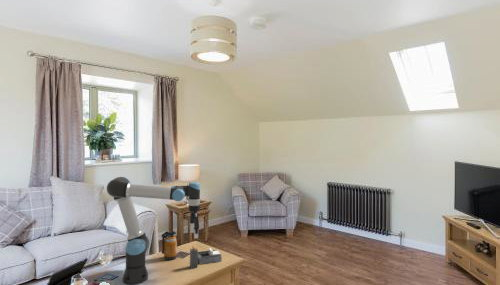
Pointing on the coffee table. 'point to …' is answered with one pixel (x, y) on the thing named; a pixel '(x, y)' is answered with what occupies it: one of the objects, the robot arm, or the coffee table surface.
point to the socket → (208, 257)
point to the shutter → (213, 252)
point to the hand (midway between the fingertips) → (194, 235)
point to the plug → (193, 258)
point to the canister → (169, 245)
